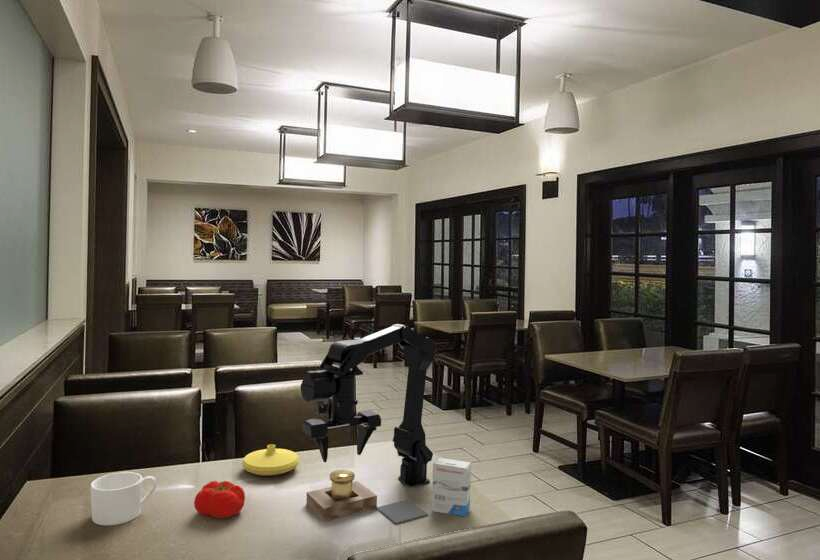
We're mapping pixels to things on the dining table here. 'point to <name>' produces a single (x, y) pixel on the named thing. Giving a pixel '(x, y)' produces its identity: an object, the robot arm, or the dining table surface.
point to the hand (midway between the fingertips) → (342, 458)
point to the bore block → (341, 502)
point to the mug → (118, 497)
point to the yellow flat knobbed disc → (270, 461)
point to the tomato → (220, 499)
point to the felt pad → (401, 511)
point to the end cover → (341, 484)
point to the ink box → (451, 487)
